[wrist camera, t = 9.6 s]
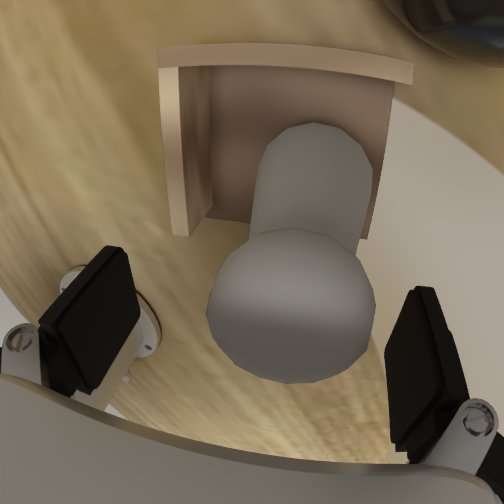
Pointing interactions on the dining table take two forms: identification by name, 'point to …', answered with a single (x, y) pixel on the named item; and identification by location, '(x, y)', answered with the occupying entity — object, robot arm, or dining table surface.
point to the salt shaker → (299, 262)
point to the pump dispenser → (457, 27)
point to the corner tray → (261, 116)
